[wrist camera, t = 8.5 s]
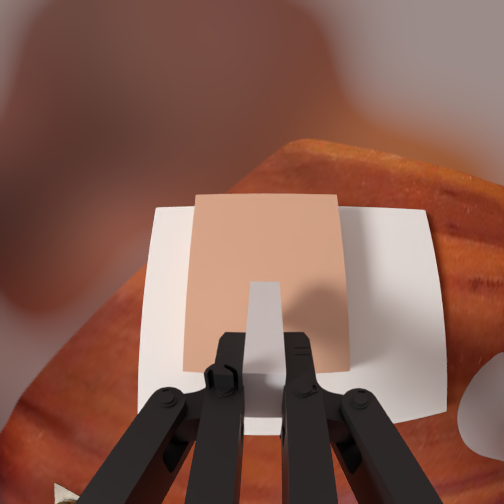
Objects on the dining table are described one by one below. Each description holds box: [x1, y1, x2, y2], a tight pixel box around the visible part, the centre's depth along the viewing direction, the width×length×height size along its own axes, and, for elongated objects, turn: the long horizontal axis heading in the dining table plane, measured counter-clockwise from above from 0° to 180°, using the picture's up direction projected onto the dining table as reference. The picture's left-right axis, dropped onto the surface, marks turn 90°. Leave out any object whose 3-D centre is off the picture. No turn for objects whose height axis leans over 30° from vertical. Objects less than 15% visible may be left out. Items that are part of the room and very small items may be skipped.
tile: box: [183, 194, 350, 373], centre depth 20 cm, size 10×3×12 cm
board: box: [138, 206, 447, 435], centre depth 21 cm, size 23×17×1 cm
